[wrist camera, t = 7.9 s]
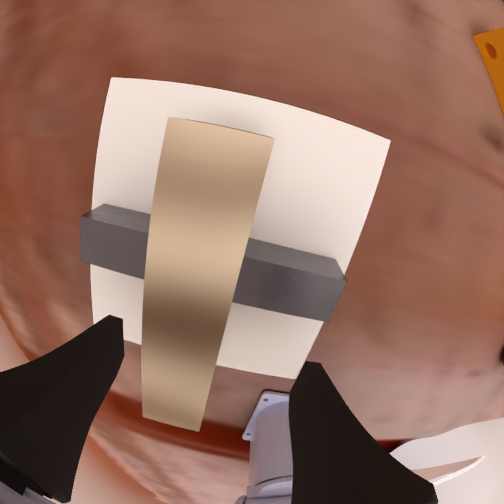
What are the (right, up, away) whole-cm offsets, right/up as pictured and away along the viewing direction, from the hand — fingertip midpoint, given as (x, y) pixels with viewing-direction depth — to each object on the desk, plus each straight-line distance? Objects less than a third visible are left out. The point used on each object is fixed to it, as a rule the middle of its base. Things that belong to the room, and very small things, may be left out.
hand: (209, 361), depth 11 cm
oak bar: (-1, +3, +6) cm, 6 cm away
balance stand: (-1, +5, +9) cm, 10 cm away
